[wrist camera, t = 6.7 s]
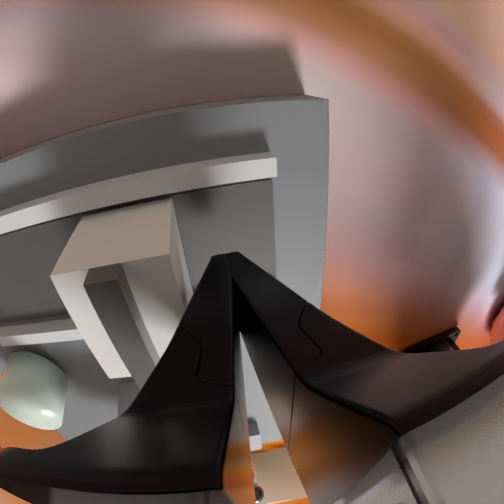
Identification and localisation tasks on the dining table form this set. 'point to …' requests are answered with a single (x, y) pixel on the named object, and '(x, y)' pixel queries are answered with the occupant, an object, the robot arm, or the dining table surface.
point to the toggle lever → (257, 487)
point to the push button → (33, 390)
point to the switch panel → (187, 215)
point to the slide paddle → (126, 285)
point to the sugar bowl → (497, 328)
